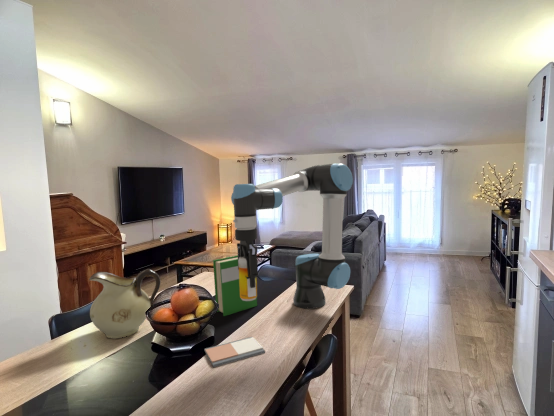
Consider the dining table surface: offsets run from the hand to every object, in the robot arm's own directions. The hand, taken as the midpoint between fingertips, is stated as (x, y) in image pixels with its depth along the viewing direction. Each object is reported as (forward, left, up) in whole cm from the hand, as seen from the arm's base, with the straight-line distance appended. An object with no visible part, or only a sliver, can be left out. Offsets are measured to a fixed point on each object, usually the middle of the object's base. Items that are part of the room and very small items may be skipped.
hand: (248, 293), depth 120 cm
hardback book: (-7, -38, -20) cm, 43 cm away
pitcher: (+41, -40, -20) cm, 60 cm away
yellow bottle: (0, 0, -2) cm, 2 cm away
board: (+7, 0, -20) cm, 21 cm away
